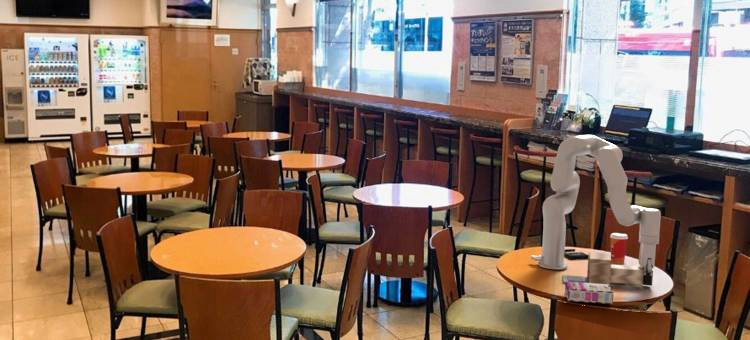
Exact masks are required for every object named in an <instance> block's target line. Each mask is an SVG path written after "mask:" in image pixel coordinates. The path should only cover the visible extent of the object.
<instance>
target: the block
mask: <svg viewBox="0 0 750 340" xmlns="http://www.w3.org/2000/svg"><path fill="white" fill-rule="evenodd" d="M646 270H648V269H646ZM643 275H644V267H643V268H642V267H641V266H637V265H623V264H612V263H611V273H610V282H612V283H624V284H637V285H642V286H644V285H643ZM653 277H654V270H653V269H652V281H653V279H654V278H653ZM648 286H653V282H652V283H651V285H648Z"/></svg>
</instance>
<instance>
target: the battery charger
mask: <svg viewBox="0 0 750 340" xmlns="http://www.w3.org/2000/svg"><path fill="white" fill-rule="evenodd" d="M571 251H572V252H571ZM564 258H567V260H570V261H574V260H575V261H576V259H581V260H588V254H586V253H584V252H582V251H580V252H576V248H572V249H571V248H568V249H567V248H565V252H564Z"/></svg>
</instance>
